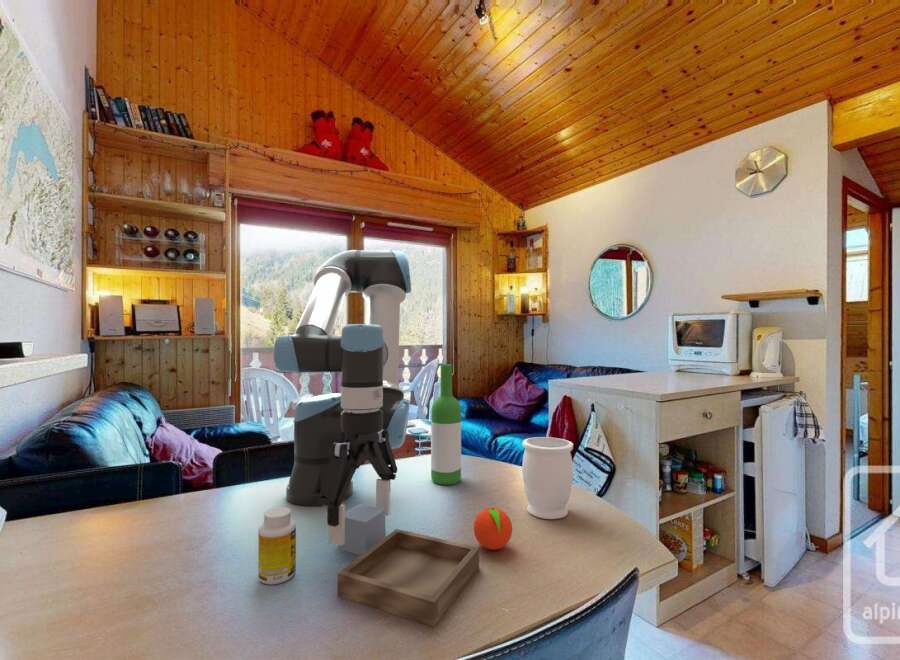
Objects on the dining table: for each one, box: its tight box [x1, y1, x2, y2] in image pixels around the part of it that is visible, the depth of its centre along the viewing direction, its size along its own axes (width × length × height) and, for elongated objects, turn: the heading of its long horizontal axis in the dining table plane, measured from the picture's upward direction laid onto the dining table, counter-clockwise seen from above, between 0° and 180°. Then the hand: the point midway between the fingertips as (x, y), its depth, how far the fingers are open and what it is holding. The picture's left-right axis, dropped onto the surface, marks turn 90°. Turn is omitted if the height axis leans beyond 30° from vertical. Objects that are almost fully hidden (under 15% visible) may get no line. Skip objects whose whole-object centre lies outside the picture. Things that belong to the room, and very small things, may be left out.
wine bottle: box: [430, 363, 462, 486], centre depth 114 cm, size 8×8×30 cm
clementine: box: [473, 507, 513, 551], centre depth 79 cm, size 8×7×7 cm
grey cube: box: [337, 503, 386, 556], centre depth 80 cm, size 6×6×6 cm
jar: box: [521, 436, 574, 520], centre depth 95 cm, size 11×10×15 cm
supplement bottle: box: [257, 506, 297, 585], centre depth 70 cm, size 6×6×10 cm
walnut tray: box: [337, 528, 480, 628], centre depth 69 cm, size 16×16×3 cm
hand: (361, 527), depth 80 cm, fingers open, 13 cm apart
